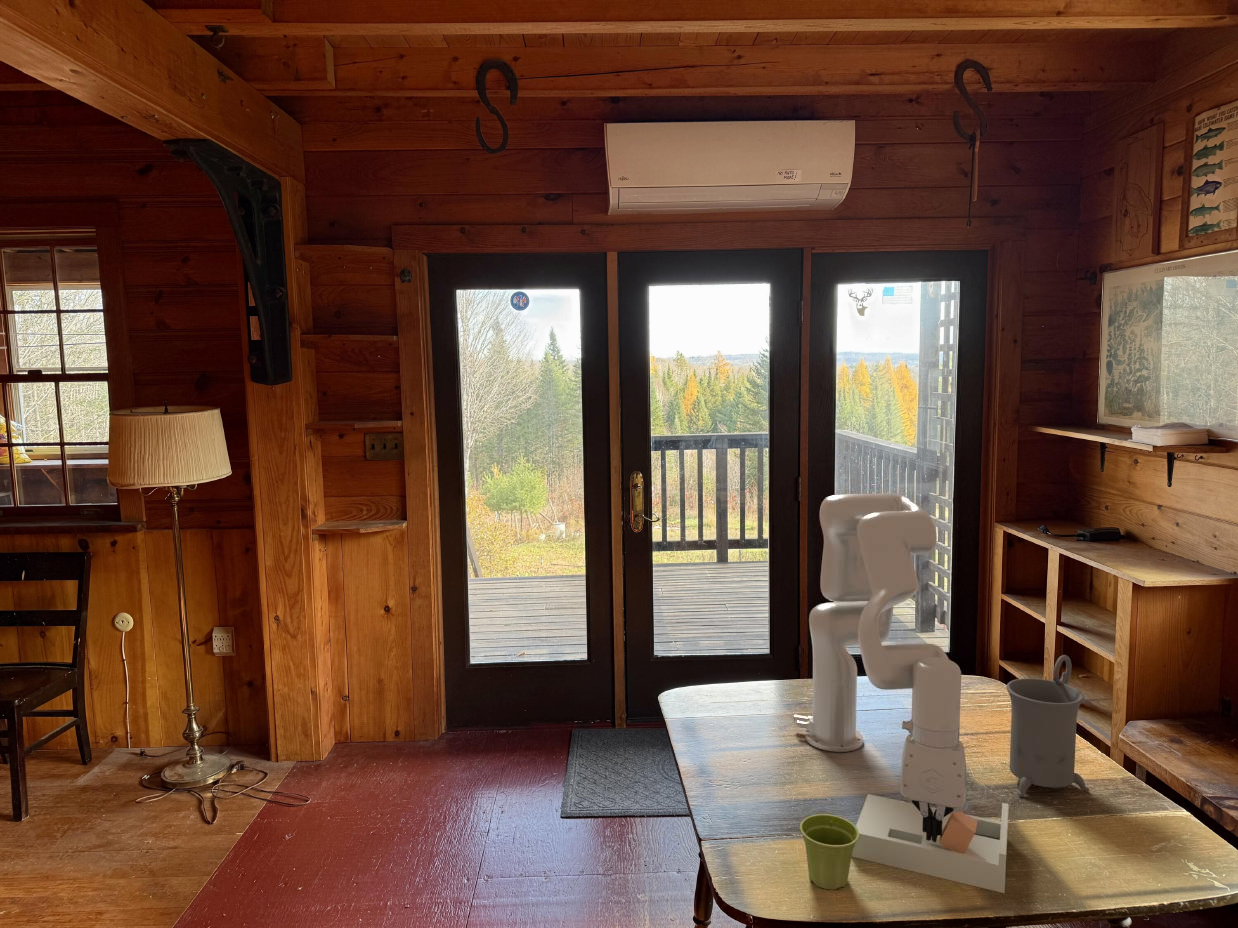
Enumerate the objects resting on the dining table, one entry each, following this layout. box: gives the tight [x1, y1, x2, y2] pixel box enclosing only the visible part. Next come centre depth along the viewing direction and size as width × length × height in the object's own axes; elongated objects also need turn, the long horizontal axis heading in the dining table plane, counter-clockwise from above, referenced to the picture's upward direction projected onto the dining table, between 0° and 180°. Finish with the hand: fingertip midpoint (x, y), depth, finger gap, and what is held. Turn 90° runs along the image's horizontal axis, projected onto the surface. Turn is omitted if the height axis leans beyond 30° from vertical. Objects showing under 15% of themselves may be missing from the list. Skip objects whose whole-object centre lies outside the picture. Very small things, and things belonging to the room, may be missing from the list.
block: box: [939, 811, 977, 854], centre depth 139 cm, size 4×4×5 cm
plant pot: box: [799, 813, 859, 891], centre depth 136 cm, size 9×9×9 cm
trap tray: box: [852, 793, 1009, 894], centre depth 144 cm, size 24×17×6 cm
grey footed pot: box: [1005, 654, 1090, 798], centre depth 165 cm, size 19×15×25 cm
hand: (932, 836), depth 140 cm, fingers closed
